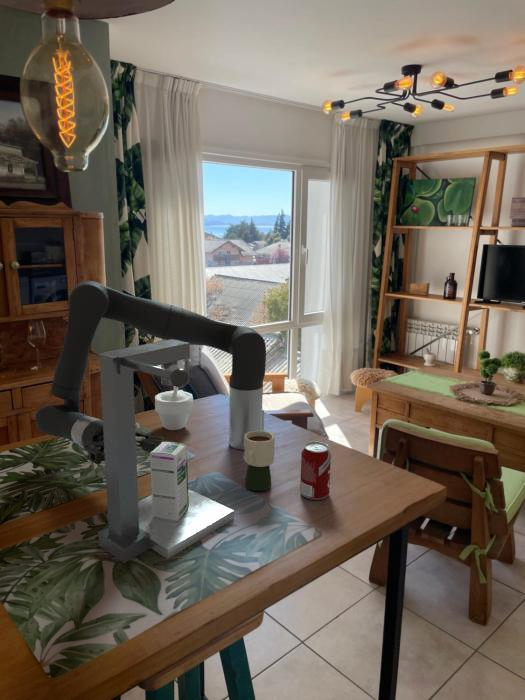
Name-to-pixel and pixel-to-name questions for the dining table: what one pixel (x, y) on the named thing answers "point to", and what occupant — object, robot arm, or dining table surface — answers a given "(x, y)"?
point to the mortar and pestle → (174, 405)
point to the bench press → (121, 464)
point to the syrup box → (169, 480)
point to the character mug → (258, 459)
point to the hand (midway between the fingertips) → (137, 454)
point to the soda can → (315, 471)
